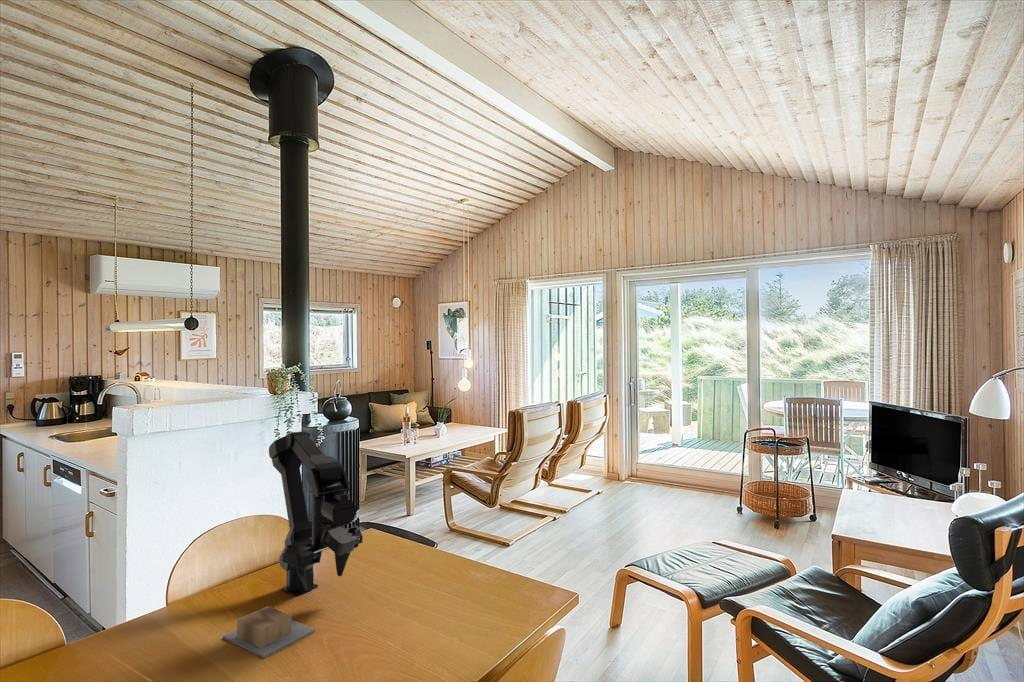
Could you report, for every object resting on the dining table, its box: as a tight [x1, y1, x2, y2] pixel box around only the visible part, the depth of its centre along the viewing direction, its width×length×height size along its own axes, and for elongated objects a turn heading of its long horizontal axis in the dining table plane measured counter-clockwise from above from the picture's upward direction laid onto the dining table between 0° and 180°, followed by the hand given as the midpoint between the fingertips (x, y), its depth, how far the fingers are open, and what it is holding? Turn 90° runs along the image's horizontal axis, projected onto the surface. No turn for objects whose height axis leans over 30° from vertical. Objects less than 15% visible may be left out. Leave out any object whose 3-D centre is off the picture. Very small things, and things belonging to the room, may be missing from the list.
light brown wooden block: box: [236, 605, 292, 648], centre depth 112 cm, size 8×4×7 cm
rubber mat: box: [222, 619, 316, 659], centre depth 113 cm, size 14×12×1 cm
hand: (324, 582), depth 125 cm, fingers open, 9 cm apart
